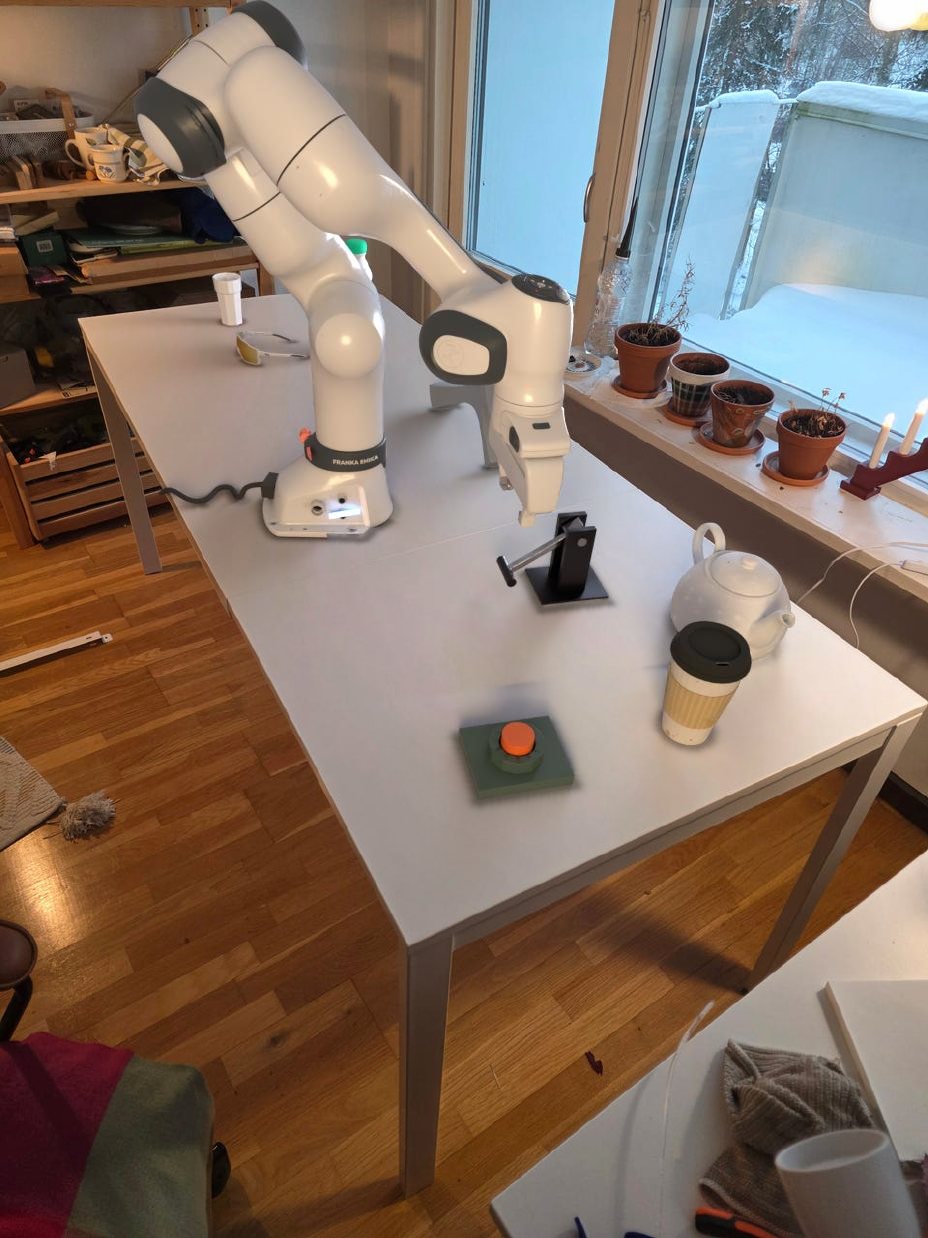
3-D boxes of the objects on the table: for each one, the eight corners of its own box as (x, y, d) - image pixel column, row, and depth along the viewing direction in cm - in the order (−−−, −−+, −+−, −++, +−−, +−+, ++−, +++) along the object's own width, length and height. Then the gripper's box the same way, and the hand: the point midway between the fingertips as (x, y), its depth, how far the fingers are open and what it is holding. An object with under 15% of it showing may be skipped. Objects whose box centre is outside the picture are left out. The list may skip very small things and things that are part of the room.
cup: (238, 315, 207) (232, 270, 200) (250, 323, 203) (245, 278, 196) (214, 319, 203) (207, 274, 196) (225, 328, 200) (219, 282, 192)
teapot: (797, 617, 126) (827, 545, 117) (767, 686, 113) (799, 612, 105) (683, 575, 132) (704, 504, 124) (643, 636, 120) (663, 563, 111)
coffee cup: (711, 701, 111) (742, 618, 101) (731, 756, 103) (767, 673, 93) (641, 699, 110) (665, 616, 100) (656, 755, 102) (684, 671, 93)
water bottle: (341, 345, 196) (337, 236, 180) (369, 343, 198) (368, 235, 181) (346, 357, 191) (343, 245, 175) (375, 355, 193) (374, 244, 176)
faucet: (438, 462, 176) (496, 470, 149) (428, 383, 171) (486, 377, 144) (464, 458, 178) (526, 465, 151) (455, 380, 173) (517, 373, 146)
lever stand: (540, 610, 123) (551, 541, 115) (523, 574, 130) (533, 507, 122) (607, 602, 126) (623, 535, 117) (587, 568, 132) (600, 502, 124)
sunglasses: (228, 346, 191) (228, 325, 188) (289, 346, 198) (290, 326, 195) (245, 369, 182) (246, 347, 179) (309, 369, 189) (310, 348, 186)
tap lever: (510, 590, 121) (504, 580, 120) (499, 567, 126) (493, 557, 124) (593, 543, 119) (587, 532, 117) (579, 520, 123) (573, 510, 122)
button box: (478, 800, 95) (480, 781, 93) (458, 737, 103) (460, 718, 101) (572, 784, 98) (577, 766, 96) (547, 724, 105) (550, 705, 103)
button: (505, 758, 97) (507, 749, 95) (496, 734, 99) (498, 724, 98) (537, 753, 97) (539, 744, 96) (527, 729, 100) (529, 719, 99)
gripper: (481, 379, 109) (474, 469, 118) (525, 453, 94) (514, 549, 103) (526, 377, 110) (516, 466, 119) (576, 449, 95) (560, 545, 104)
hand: (515, 505), depth 111 cm, fingers open, 8 cm apart
